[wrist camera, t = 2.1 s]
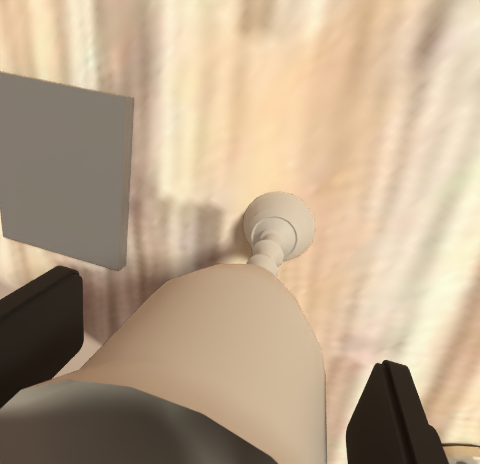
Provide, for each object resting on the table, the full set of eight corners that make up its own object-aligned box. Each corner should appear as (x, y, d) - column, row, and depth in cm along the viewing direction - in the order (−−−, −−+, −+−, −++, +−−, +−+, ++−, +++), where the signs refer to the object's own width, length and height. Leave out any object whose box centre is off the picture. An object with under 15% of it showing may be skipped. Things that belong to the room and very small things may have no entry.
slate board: (134, 98, 22) (125, 97, 21) (125, 265, 26) (118, 271, 26) (-2, 70, 23) (-16, 68, 22) (13, 232, 28) (3, 236, 27)
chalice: (354, 224, 21) (473, 612, 5) (288, 291, 24) (213, 684, 7) (266, 155, 21) (61, 294, 4) (210, 229, 24) (-47, 488, 7)
